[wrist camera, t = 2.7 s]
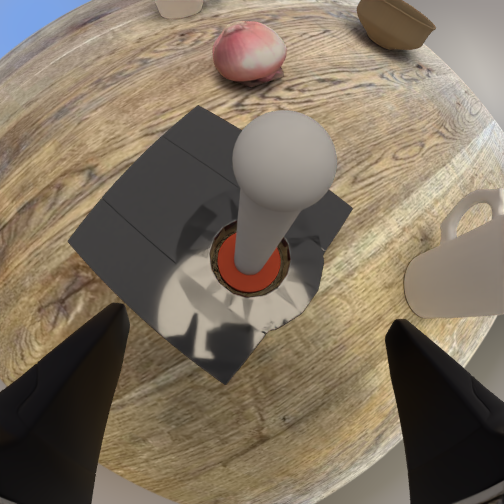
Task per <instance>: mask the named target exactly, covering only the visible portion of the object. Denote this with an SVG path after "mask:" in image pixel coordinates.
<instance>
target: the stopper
mask: <svg viewBox="0 0 504 504" xmlns="http://www.w3.org/2000/svg"><path fill="white" fill-rule="evenodd" d="M232 162H233V171H234V175H235V177H236V180H237V182H238V184H239V186H240V188H241V190H240V200H239V211H238V221H237V232H236V233H234V234H232V235H231V236H229V237H228V238H227V239H226V240H225V241H224V242H223V244H222V246H221V247H220V250H219V253H218V259H217V261H218V269H219V272H220V275H221V277H222V279H223V280H224V282H225V283H226V284H227V285H228V286H229V287H231V288H232V289H234V290H236V291H238V292H242V293H255V292H259V291H261V290H263V289H265V288H266V287H268V286H269V285H270V284H271V283H272V282H273V281H274V280H275V278H276V277H277V275H278V273H279V269H280V263H281V260H280V253H279V250H278V248H277V246H278V244H279V243H280V241H281V240H282V238H283V237H284V236H285V234H286V233H287V231H288V230H289V228H290V227H291V225H292V224H293V222H294V221H295V219H296V218H297V216H298V215H299V213H300V212H301V210H303V209H305V208H308V207H310V206H311V205H313V204H315V203H316V202H318V201H319V200H320V199H321V198H322V197H323V196H324V195H325V194H326V193H327V191H328V190H329V188H330V186H331V185H332V183H333V180H334V177H335V174H336V168H337V156H336V151H335V147H334V144H333V142H332V140H331V138H330V136H329V134H328V133H327V132H326V130H325V129H324V128H323V127H322V126H321V125H320V124H319V123H318V122H317V121H315V120H314V119H312V118H311V117H309V116H307V115H305V114H302V113H299V112H295V111H289V110H279V111H272V112H268V113H265V114H263V115H261V116H259V117H257V118H255V119H254V120H253V121H251V122H250V123H249V124H248V125H247V126H246V127H245V128H244V129H243V130H242V132H241V133H240V135H239V136H238V139H237V141H236V143H235V146H234V150H233V157H232Z"/></svg>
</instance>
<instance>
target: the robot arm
mask: <svg viewBox="0 0 504 504" xmlns="http://www.w3.org/2000/svg"><path fill="white" fill-rule="evenodd" d="M129 329H130V322H129V318H128V315H127V311H126V307H125V305H124V304H120V303H111V304H110V305H108V306H107V307H106V308H104V309H103V310H102V311H101V312H99V313H98V314H97V315H95V316H94V317H93V318H92V319H90V320H89V321H88V322H87V323H85V324H84V325H83V326H81V327H80V328H79V329H78V330H76V331H75V332H74V333H73V334H71V335H70V336H69V337H68V338H66V339H65V340H64V341H63V342H62V343H60V344H59V345H58V346H57V347H55V348H54V349H53V350H52V351H51V352H49V353H48V354H47V355H46V356H45V357H43V358H42V359H41V360H40V361H39V362H38V363H37V364H35V365H34V366H33V367H32V368H30V369H29V370H28V371H27V372H26V373H24V374H23V375H22V376H21V377H20V378H18V379H17V380H16V381H14V382H13V383H12V384H10V385H9V386H8V387H6V388H5V389H4V390H2V391H1V392H0V504H91V502H92V495H93V489H94V482H95V476H96V474H95V473H96V469H97V465H98V459H99V454H100V450H101V445H102V440H103V436H104V432H105V427H106V423H107V419H108V415H109V411H110V407H111V404H112V400H113V396H114V393H115V389H116V386H117V382H118V379H119V376H120V372H121V368H122V363H123V358H124V353H125V348H126V343H127V338H128V333H129ZM385 344H386V350H387V356H388V362H389V369H390V376H391V381H392V385H393V390H394V394H395V399H396V403H397V408H398V413H399V418H400V423H401V429H402V435H403V441H404V446H405V454H406V461H407V469H408V479H409V490H410V504H504V402H503V401H501V400H500V399H499V398H498V397H497V396H495V395H494V394H493V393H492V392H490V391H489V390H488V389H486V388H485V387H484V386H483V385H482V384H481V383H480V382H479V381H477V380H476V379H475V378H474V377H473V376H471V374H470V373H469V372H467V371H466V370H465V369H464V368H463V367H462V366H461V365H460V364H458V363H457V362H456V361H455V360H454V359H453V358H452V357H450V356H449V355H448V354H447V353H446V352H445V351H443V350H442V349H441V348H440V347H439V346H438V345H436V344H435V343H434V342H433V341H432V340H430V339H429V338H428V337H427V336H426V335H424V334H423V333H422V332H421V331H420V330H418V329H417V328H416V327H415V326H414V325H412V324H411V323H410V322H409V321H407V320H406V319H396V320H395V321H394V322H393V323H392V325H391V327H390V329H389V330H388V332H387V334H386V336H385Z"/></svg>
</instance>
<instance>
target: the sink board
mask: <svg viewBox="0 0 504 504" xmlns="http://www.w3.org/2000/svg"><path fill="white" fill-rule="evenodd" d="M241 132H242V130H240V129H239V128H237V127H235V126H234V125H232V124H230V123H229V122H227V121H225V120H224V119H222V118H220V117H218V116H217V115H215V114H213V113H211V112H210V111H208V110H206V109H204V108H202V107H200V106H199V105H198V106H196V107H195V108H194V109H193V110H191V111H190V112H189V113H188V114H186V115H185V116H184V117H183V118H182V119H181V120H179V121H178V122H177V123H176V124H175V125H174V126H172V127H171V128H170V129H169V130H168V131H167V132H166V133H165V134H164V135H163V136H161V137H160V138H159V139H158V140H157V141H156V142H155V143H154V144H153V145H152V146H150V147H149V148H148V149H147V150H146V151H145V152H144V153H143V154H142V155H141V156H140V157H139V158H138V159H137V160H136V161H135V162H134V163H133V164H132V165H131V166H130V167H129V168H128V169H127V170H126V172H125V173H124V174H123V175H122V176H121V177H120V178H119V179H118V180H117V181H116V182H115V183H114V184H113V186H112V187H111V188H110V189H109V190H108V191H107V192H106V193H105V195H104V196H103V197H102V198H103V199H102V198H101V199H100V201H99V202H98V203H97V204H96V205H95V207H94V208H93V209H92V210H91V211H90V213H89V214H88V215H87V216H86V218H85V219H84V220H83V221H82V223H81V224H80V225H79V227H78V228H77V229H76V230H75V232H74V233H73V234H72V236H71V237H70V238H69V240H68V243H69V244H70V245H71V246H72V247H73V249H74V250H75V251H76V252H77V253H78V254H79V255H80V257H81V258H82V259H83V260H84V261H85V262H86V263H87V264H88V265H89V267H90V268H91V269H92V270H93V271H94V272H95V273H96V274H97V275H98V276H99V277H100V278H101V279H102V280H103V281H104V282H105V283H106V284H107V286H108V287H109V288H110V289H111V290H112V291H113V292H114V293H115V294H116V295H117V296H118V297H120V298H121V299H122V300H123V301H124V302H125V303H126V304H127V305H128V306H129V307H130V308H131V309H132V310H133V311H134V312H135V313H136V314H137V315H139V316H140V317H141V318H142V319H143V320H144V321H145V322H146V323H147V324H148V325H150V326H151V327H152V328H153V329H154V330H155V331H156V332H158V333H159V334H160V335H161V336H162V337H163V338H165V339H166V340H167V341H168V342H169V343H171V344H172V345H173V346H174V347H175V348H177V349H178V350H179V351H180V352H182V353H183V354H184V355H185V356H187V357H188V358H189V359H191V360H192V361H193V362H194V363H196V364H197V365H198V366H200V367H201V368H202V369H204V370H205V371H206V372H208V373H209V374H210V375H212V376H213V377H214V378H216V379H217V380H219V381H220V382H221V383H223V384H224V385H227V383H228V382H229V381H230V380H231V379H232V377H233V376H234V375H235V374H236V372H237V371H238V370H239V369H240V367H241V366H242V365H243V364H244V362H245V361H246V360H247V359H248V357H249V356H250V355H251V354H252V352H253V351H254V350H255V348H256V347H257V346H258V345H259V343H260V342H261V341H262V339H263V338H264V337H265V335H266V334H267V333H268V332H269V331H271V330H276V329H278V328H280V327H282V326H283V325H285V324H286V323H288V322H290V321H291V320H293V319H294V318H296V317H298V316H299V315H301V314H302V313H303V312H304V310H305V309H306V307H307V306H308V305H309V303H310V302H311V300H312V299H313V297H314V296H315V294H316V293H317V291H318V289H319V285H320V280H321V276H322V271H323V266H324V258H323V255H324V253H325V251H326V250H327V248H328V247H329V245H330V244H331V242H332V241H333V239H334V238H335V236H336V235H337V233H338V232H339V230H340V229H341V227H342V226H343V224H344V222H345V221H346V219H347V218H348V216H349V215H350V213H351V211H352V210H353V208H352V207H351V206H350V205H348V204H347V203H346V202H344V201H343V200H342V199H341V198H339V197H338V196H337V195H335V194H334V193H333V192H332V191H330V190H328V191H327V193H326V194H325V195H324V196H323V197H322V198H321V199H320V200H319V201H318V202H316V203H315V204H313V205H311V206H310V207H308V208H305V209H303V210H301V212H300V213H299V215H298V216H297V218H296V219H295V221H294V222H293V224H292V225H291V227H290V228H289V230H288V231H287V233H286V234H285V236H284V237H283V238H282V240H281V241H280V243H279V244H278V247H279V249H280V250H281V252H282V258H283V264H284V267H283V271H282V276H281V279H280V281H279V282H278V283H277V285H276V286H275V287H274V289H273V290H272V291H270V292H268V293H267V294H265V295H260V296H253V297H246V296H242V295H238V294H235V293H232V292H231V291H229V290H228V289H227V288H226V287H224V286H223V285H222V284H220V283H219V281H218V279H217V277H216V276H215V274H214V272H213V263H212V259H213V256H214V253H215V249H216V247H217V245H218V244H219V243H220V242H221V241H222V239H223V238H224V237H225V236H227V235H229V234H231V233H233V232H235V231H236V230H237V221H238V211H239V200H240V190H241V188H240V186H239V184H238V182H237V180H236V177H235V175H234V171H233V162H232V157H233V150H234V146H235V143H236V141H237V139H238V136H239V135H240V133H241ZM265 333H266V334H265Z"/></svg>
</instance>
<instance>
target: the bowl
mask: <svg viewBox="0 0 504 504" xmlns="http://www.w3.org/2000/svg"><path fill="white" fill-rule="evenodd" d="M357 14H358V17H359V20H360V22H361V23H362V25H363V27H364V28H365V30H366V31H367V35H368V37H369V38H370V39H371V40H372V41H373V42H375V43H376V44H378V45H379V46H381V47H383V48H386V49H389V50H394V49H401V50H412V49H417V48H420V47H421V46H422V45H423V43H424V42H425V40H426V39H427V37H428V36H429V35H430V33H431V32H432V31H433V30H435V29H436V27H435V25H434V24H433V23H432V22H431V21H430V20H429V19H428V18H427V17H426V16H424V15H423V14H422V13H421V12H419V11H418V10H416V9H415V8H414V7H412V6H411V5H409V4H407V3H406V2H404V1H402V0H361V1H360V3H359V4H358V6H357Z"/></svg>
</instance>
